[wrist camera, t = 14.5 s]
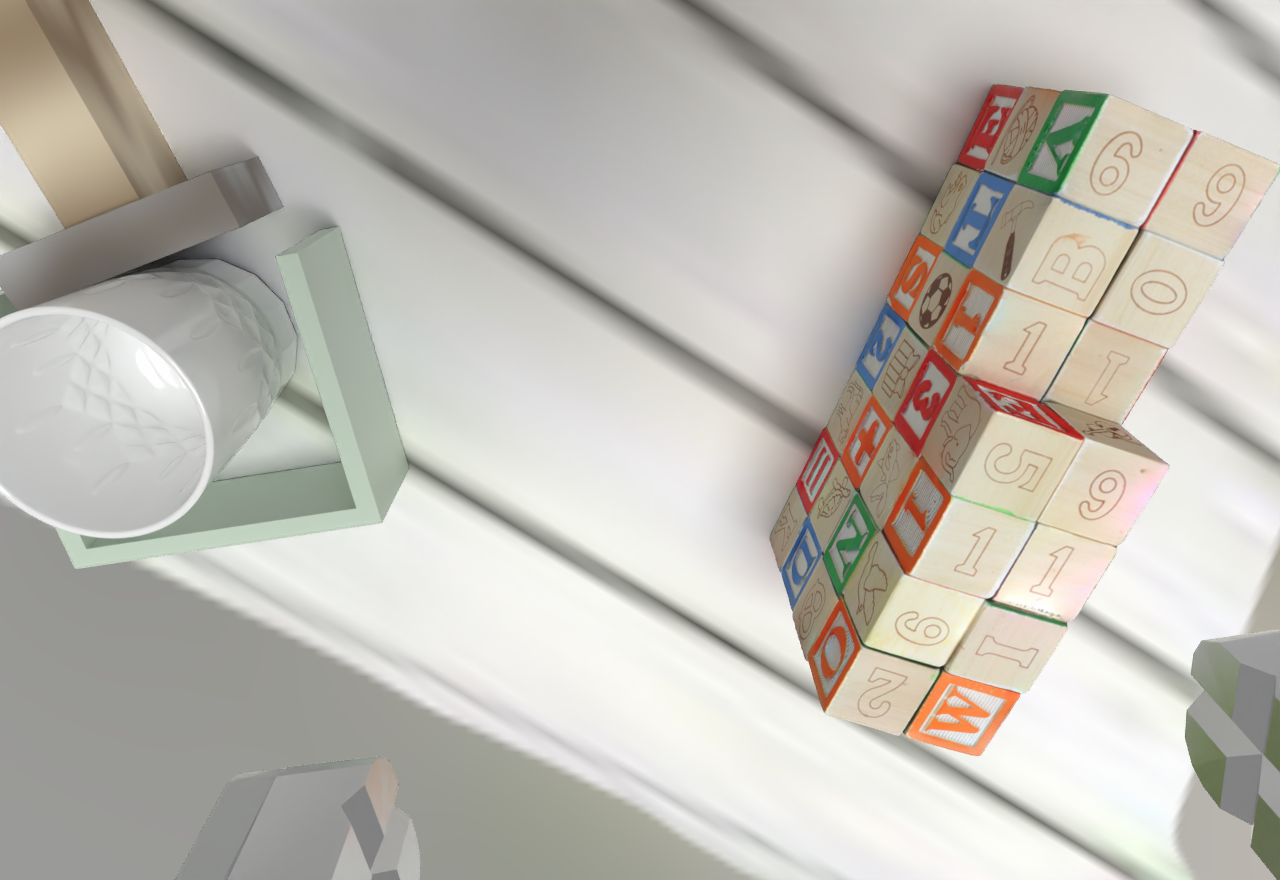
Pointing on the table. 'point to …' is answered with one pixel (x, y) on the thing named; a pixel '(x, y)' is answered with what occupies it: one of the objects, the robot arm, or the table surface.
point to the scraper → (100, 159)
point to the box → (353, 414)
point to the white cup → (137, 394)
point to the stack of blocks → (1004, 409)
